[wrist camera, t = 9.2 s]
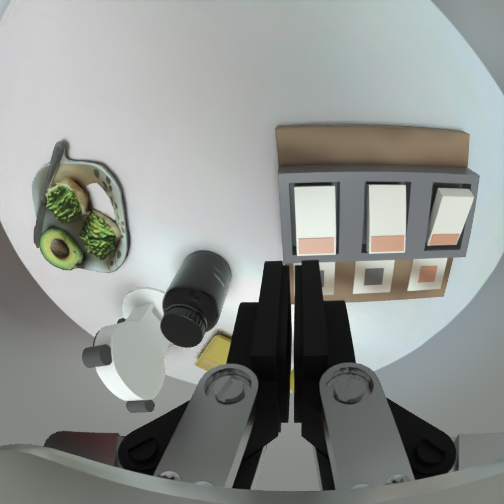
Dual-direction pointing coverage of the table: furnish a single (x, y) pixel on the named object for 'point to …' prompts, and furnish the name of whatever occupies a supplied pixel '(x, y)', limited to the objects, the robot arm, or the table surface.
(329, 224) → the rocker
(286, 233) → the switch housing
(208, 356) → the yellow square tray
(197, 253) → the supplement bottle
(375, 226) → the rocker
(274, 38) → the table surface
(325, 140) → the board
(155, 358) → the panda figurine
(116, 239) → the salad plate
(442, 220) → the rocker
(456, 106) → the table surface
